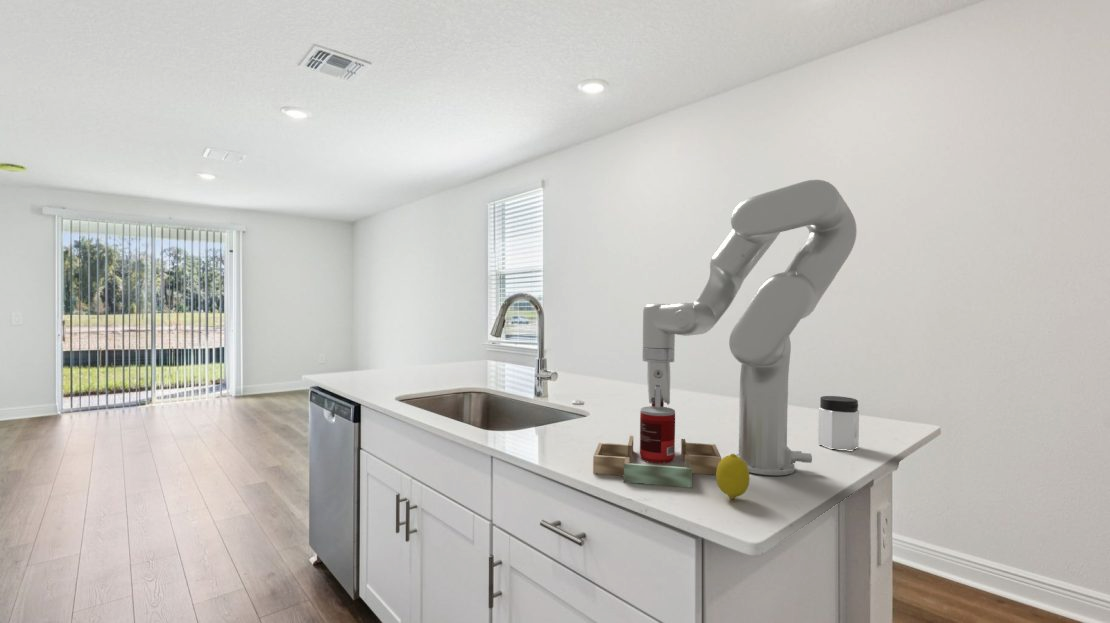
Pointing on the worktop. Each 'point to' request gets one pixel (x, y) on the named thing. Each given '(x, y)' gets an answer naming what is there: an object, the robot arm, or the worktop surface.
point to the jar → (838, 422)
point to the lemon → (732, 476)
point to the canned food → (657, 434)
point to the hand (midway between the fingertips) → (657, 431)
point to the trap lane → (619, 456)
